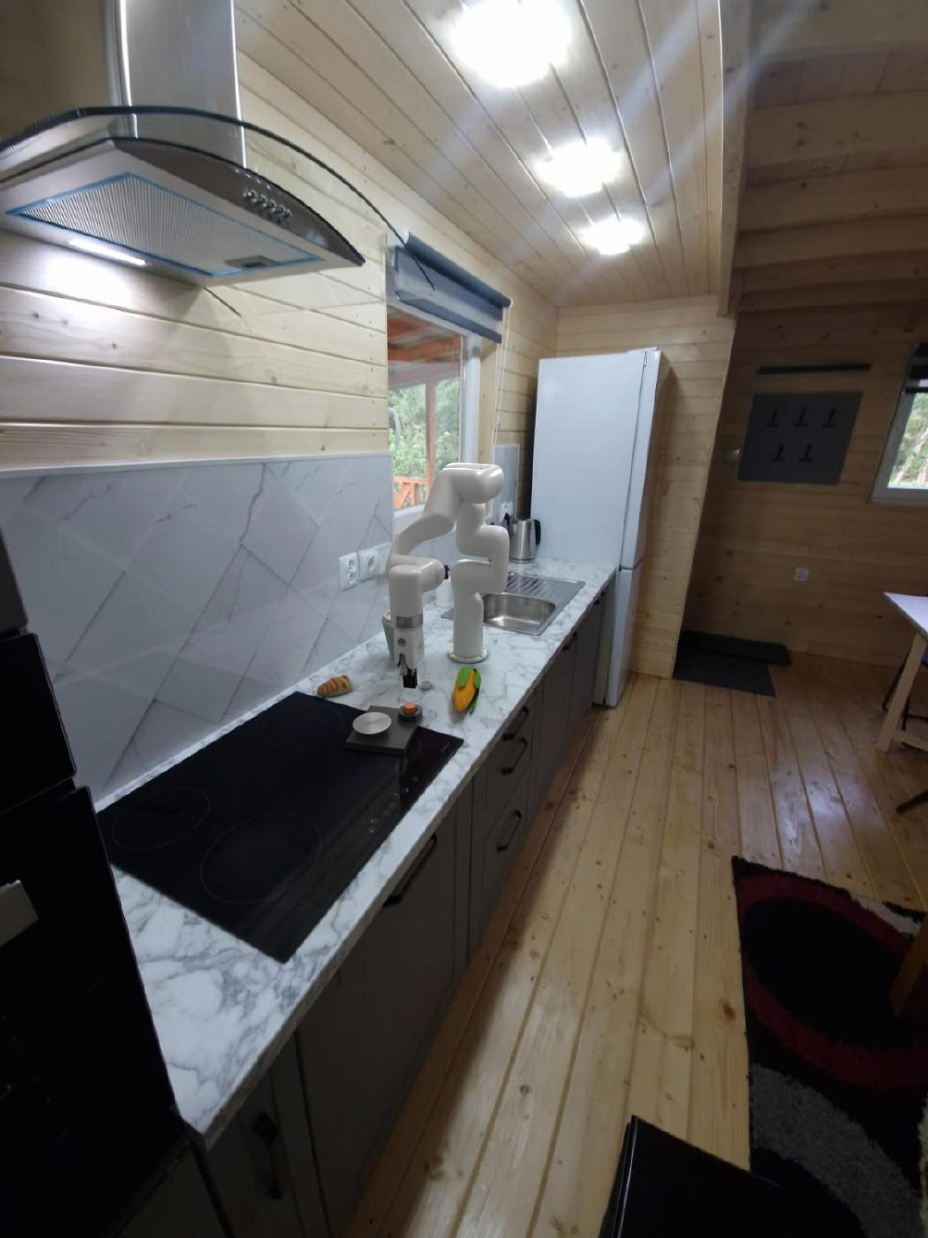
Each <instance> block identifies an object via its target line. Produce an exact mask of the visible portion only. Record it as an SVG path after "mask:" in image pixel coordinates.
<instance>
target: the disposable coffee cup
mask: <svg viewBox="0 0 928 1238" xmlns="http://www.w3.org/2000/svg"><path fill="white" fill-rule="evenodd" d="M380 623H381V624H382V627H383V631H384V636H385V640H386V644H387V645H386V646H387V648H388V649H387V650H388V654H389V656H390V658H391V659H392V660H394V661H395V659H394V628H393V627H392V626H391V615H390V609H388V610H386V611H384V612H383V613H382V617H381V622H380Z"/></svg>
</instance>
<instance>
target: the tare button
mask: <svg viewBox="0 0 928 1238" xmlns="http://www.w3.org/2000/svg"><path fill="white" fill-rule="evenodd" d="M416 704H417V703H416V702H413V701H407V702H405V703H404V704H403V705H404V712H405V713H406V714H412V713H415V712H416Z"/></svg>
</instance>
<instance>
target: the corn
mask: <svg viewBox="0 0 928 1238" xmlns="http://www.w3.org/2000/svg"><path fill="white" fill-rule="evenodd" d="M459 670H460V671H458V673H457V675H456V677H455V678H456V679H455V683H454V687H453V691H452V700H453V704H454V709H455V710H456V711H458V712H462V711H464V710H465V709H467V708H468V706H469V705H470V704H471V705H470V709H469V712H472V711H473V709H474V708H475V705H476V703H477V701H478V698H479V695H480V688H481V684H482V676H481V672H480V671H479V670H478V669H477V668H473V667H471V666H462V667H461V668H460V669H459Z"/></svg>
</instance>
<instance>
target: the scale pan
mask: <svg viewBox="0 0 928 1238" xmlns="http://www.w3.org/2000/svg"><path fill="white" fill-rule="evenodd" d="M365 713H366V712H365ZM365 713H363V714H361V715H359V716H357V717H356V718H355V719H354V720H353V721H352V729H353V730H354V731H355V732H357V733H358V734H361V735H365V736H374V735H378V734H381V733H384V732H385V731H387V730H388V729H389V728H390V726H391V719H390V717H389V716H388V715H386V714H384V713H379V712H371V713H366V714H365Z"/></svg>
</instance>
